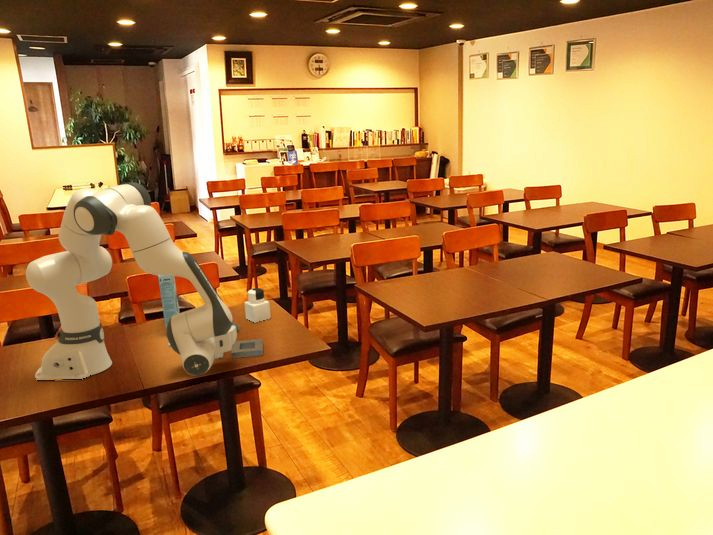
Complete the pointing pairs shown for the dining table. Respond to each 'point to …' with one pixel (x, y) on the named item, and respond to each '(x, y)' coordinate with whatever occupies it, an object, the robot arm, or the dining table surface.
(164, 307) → the gum box
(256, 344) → the grey peg base
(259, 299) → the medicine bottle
